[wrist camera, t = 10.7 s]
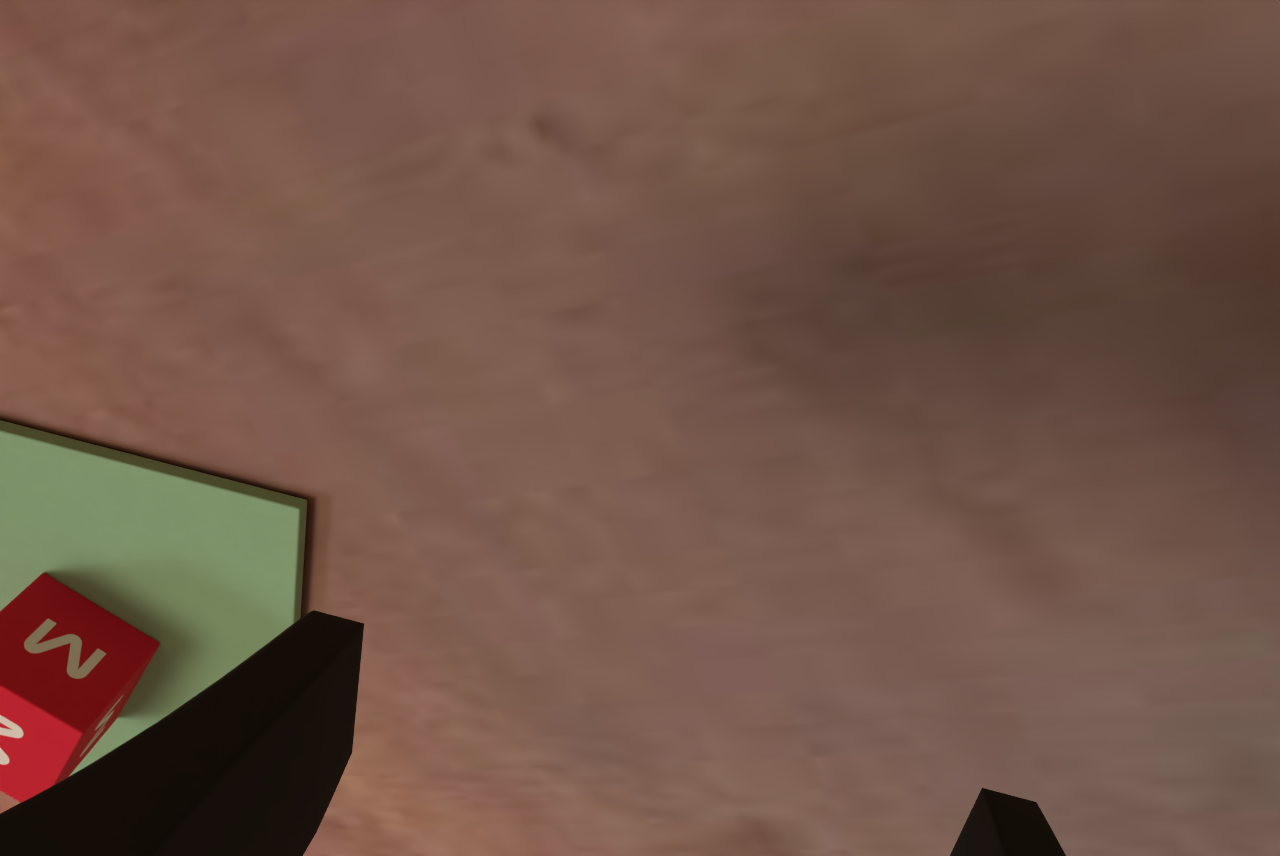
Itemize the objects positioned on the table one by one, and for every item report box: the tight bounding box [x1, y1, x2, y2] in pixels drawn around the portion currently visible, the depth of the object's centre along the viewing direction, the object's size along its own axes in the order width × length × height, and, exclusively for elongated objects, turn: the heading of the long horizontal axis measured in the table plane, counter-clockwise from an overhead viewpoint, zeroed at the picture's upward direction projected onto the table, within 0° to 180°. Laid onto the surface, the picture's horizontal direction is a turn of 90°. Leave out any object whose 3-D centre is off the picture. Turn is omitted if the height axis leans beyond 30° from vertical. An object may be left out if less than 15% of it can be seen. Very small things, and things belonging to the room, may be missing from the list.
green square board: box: [0, 420, 307, 776], centre depth 27 cm, size 11×10×1 cm
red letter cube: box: [0, 573, 160, 803], centre depth 25 cm, size 3×3×3 cm
